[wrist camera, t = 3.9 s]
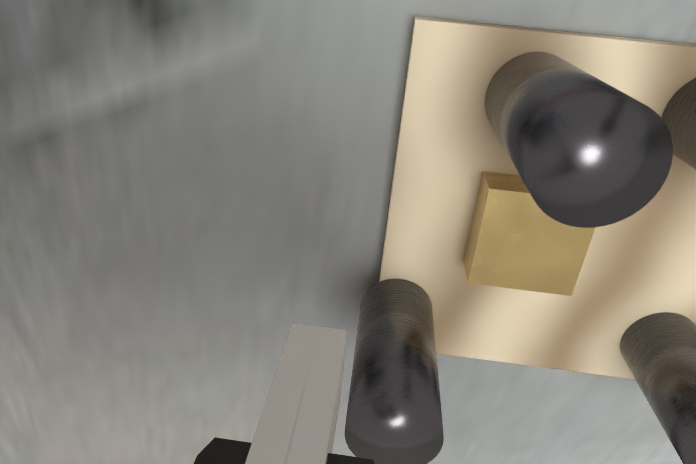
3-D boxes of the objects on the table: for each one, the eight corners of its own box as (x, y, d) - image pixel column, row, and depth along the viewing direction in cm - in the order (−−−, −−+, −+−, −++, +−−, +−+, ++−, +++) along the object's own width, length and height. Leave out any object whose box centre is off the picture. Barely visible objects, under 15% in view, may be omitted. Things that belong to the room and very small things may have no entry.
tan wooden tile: (462, 260, 24) (467, 283, 22) (482, 170, 22) (489, 188, 20) (559, 271, 24) (571, 296, 22) (588, 182, 22) (604, 202, 20)
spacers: (357, 332, 27) (340, 463, 20) (392, 36, 20) (386, 72, 13) (783, 387, 26) (928, 546, 19) (972, 95, 19) (1314, 170, 12)
